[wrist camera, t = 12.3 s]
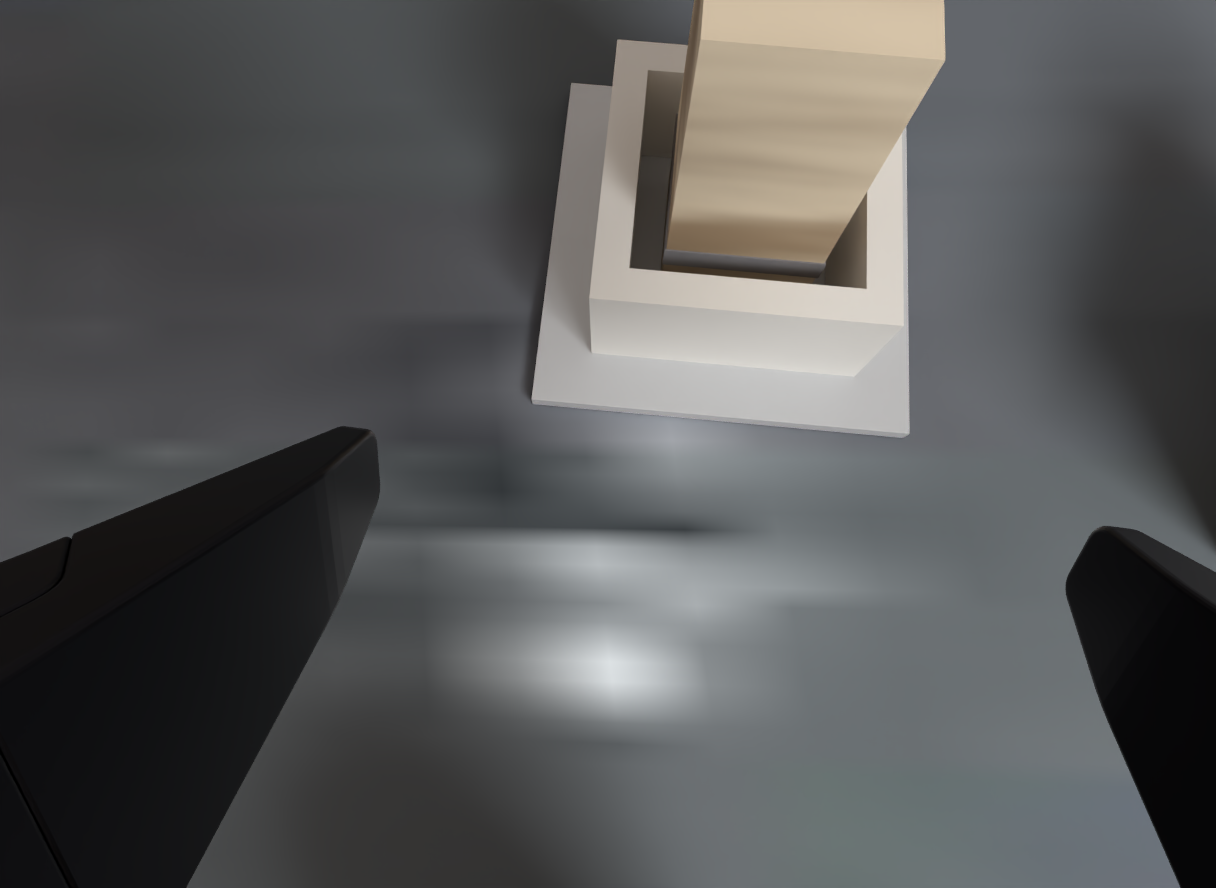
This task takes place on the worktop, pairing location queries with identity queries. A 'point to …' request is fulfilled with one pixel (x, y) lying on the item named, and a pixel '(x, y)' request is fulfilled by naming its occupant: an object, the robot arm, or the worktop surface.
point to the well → (710, 287)
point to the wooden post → (789, 127)
